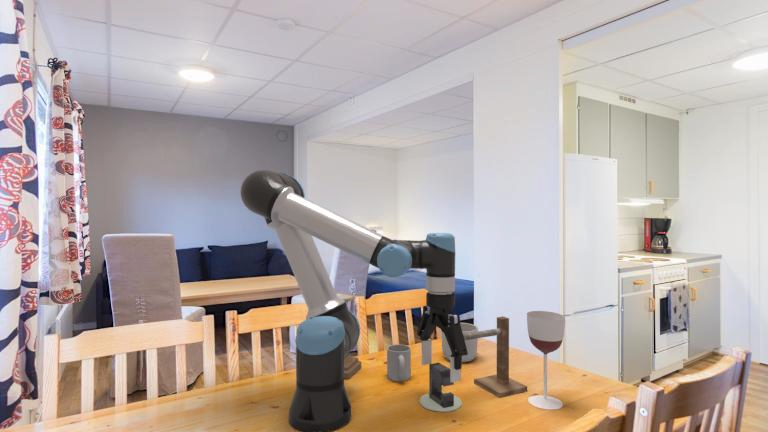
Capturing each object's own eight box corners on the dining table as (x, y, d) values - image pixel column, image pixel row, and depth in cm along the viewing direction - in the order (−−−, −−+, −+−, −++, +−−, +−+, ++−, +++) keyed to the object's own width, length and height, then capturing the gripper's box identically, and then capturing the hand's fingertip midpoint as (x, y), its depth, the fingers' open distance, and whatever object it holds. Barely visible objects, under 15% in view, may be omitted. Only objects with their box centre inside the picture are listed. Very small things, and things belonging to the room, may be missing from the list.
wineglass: (541, 412, 109) (542, 321, 109) (519, 396, 119) (519, 312, 118) (572, 408, 112) (573, 318, 111) (548, 392, 121) (548, 310, 121)
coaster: (434, 415, 107) (434, 414, 107) (412, 398, 117) (412, 396, 117) (470, 406, 112) (470, 405, 112) (446, 391, 122) (446, 389, 122)
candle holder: (315, 375, 134) (315, 297, 134) (331, 363, 144) (331, 291, 144) (348, 379, 130) (348, 300, 130) (362, 367, 141) (361, 293, 141)
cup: (408, 372, 136) (408, 344, 136) (414, 385, 127) (414, 354, 126) (385, 373, 135) (385, 345, 135) (390, 386, 126) (390, 355, 125)
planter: (483, 356, 151) (483, 325, 151) (470, 367, 141) (470, 333, 141) (449, 350, 158) (449, 320, 158) (435, 360, 147) (435, 328, 147)
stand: (468, 405, 113) (469, 329, 113) (444, 389, 123) (445, 319, 123) (527, 390, 122) (527, 320, 122) (500, 377, 132) (500, 312, 132)
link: (444, 408, 111) (444, 372, 111) (429, 397, 117) (429, 364, 117) (453, 405, 112) (453, 370, 112) (438, 395, 118) (438, 362, 118)
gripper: (482, 299, 105) (482, 386, 105) (427, 283, 127) (427, 355, 128) (456, 302, 102) (456, 392, 102) (405, 285, 124) (404, 359, 124)
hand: (440, 372), depth 115 cm, fingers open, 13 cm apart
